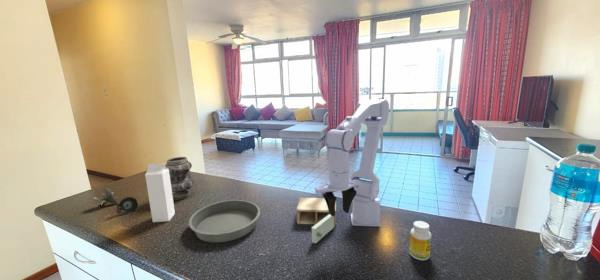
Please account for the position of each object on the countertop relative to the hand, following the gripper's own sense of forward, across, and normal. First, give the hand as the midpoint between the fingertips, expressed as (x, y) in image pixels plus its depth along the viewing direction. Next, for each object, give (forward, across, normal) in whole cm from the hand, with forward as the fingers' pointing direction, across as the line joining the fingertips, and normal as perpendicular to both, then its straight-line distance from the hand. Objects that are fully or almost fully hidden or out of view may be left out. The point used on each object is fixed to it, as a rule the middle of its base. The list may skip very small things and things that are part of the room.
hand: (338, 213), depth 76 cm
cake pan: (+11, +31, -27) cm, 42 cm away
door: (+10, +1, -6) cm, 12 cm away
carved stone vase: (+11, +48, -64) cm, 81 cm away
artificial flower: (+11, +74, -63) cm, 98 cm away
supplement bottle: (+11, -18, +14) cm, 25 cm away
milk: (+11, +53, -43) cm, 69 cm away
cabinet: (+10, -1, -18) cm, 21 cm away
